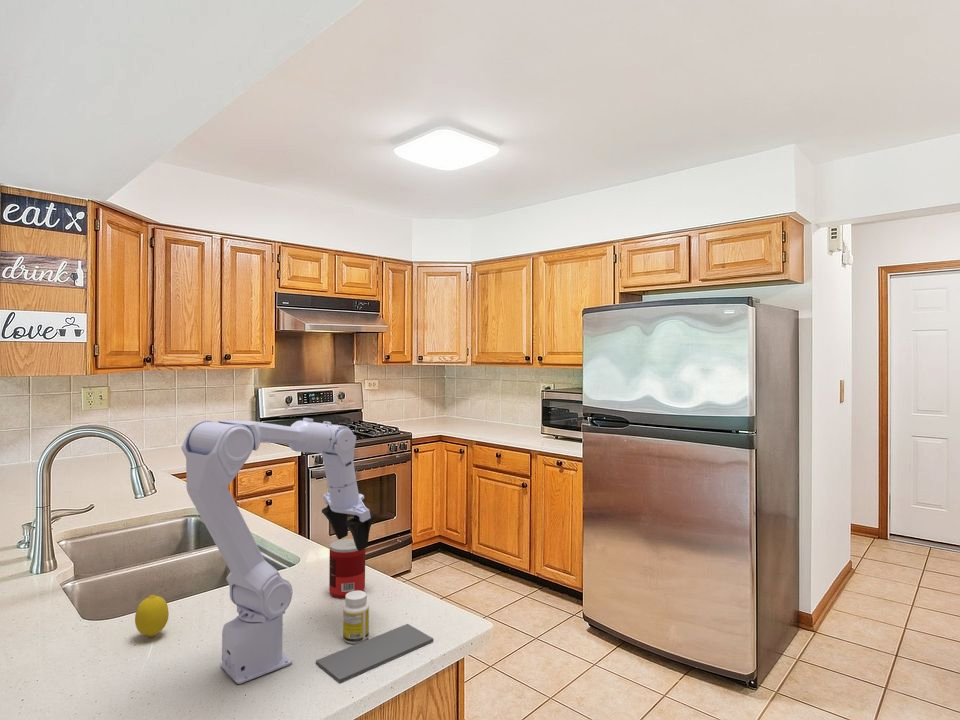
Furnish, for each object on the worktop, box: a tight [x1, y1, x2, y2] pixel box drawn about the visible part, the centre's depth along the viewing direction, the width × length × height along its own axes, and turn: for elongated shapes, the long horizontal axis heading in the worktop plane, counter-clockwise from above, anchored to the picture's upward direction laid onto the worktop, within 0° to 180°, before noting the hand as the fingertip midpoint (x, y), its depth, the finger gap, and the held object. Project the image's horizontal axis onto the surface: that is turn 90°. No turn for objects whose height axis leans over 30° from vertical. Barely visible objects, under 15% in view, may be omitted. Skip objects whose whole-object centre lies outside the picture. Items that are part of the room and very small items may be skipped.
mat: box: [315, 623, 434, 684], centre depth 105 cm, size 20×8×1 cm, turn 134°
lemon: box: [134, 594, 169, 638], centre depth 110 cm, size 6×6×8 cm
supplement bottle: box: [342, 590, 370, 645], centre depth 110 cm, size 5×5×8 cm
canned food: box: [328, 537, 366, 599], centre depth 131 cm, size 8×8×11 cm
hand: (352, 542), depth 120 cm, fingers open, 7 cm apart
